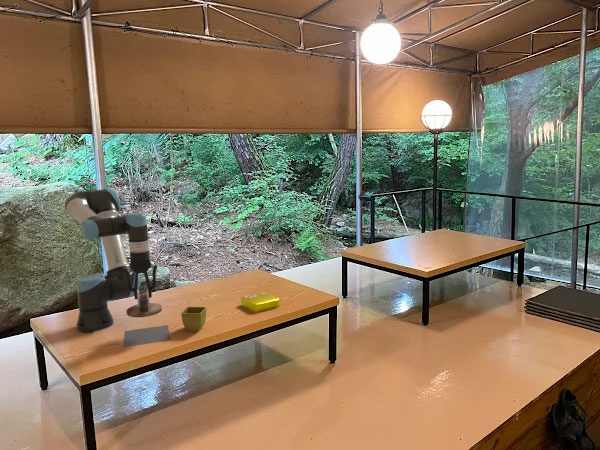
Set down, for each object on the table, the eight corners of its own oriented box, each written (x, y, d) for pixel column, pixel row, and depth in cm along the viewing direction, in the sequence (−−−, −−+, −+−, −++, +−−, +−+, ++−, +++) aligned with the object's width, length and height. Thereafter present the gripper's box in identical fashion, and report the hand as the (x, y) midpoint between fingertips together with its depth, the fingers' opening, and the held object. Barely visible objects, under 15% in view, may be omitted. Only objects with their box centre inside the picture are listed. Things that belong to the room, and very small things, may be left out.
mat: (123, 348, 188) (123, 347, 188) (125, 332, 205) (125, 331, 205) (170, 341, 194) (170, 340, 194) (168, 326, 211) (168, 325, 211)
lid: (126, 319, 189) (124, 304, 188) (127, 308, 203) (125, 294, 202) (162, 314, 194) (161, 300, 193) (161, 303, 207) (160, 290, 206)
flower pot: (208, 326, 210) (206, 306, 208) (202, 333, 201) (200, 313, 199) (188, 326, 210) (187, 306, 209) (182, 333, 202) (180, 313, 200)
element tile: (254, 313, 224) (253, 304, 223) (239, 305, 237) (239, 296, 236) (281, 307, 233) (280, 297, 232) (265, 299, 245) (265, 290, 244)
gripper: (117, 254, 188) (123, 311, 192) (160, 250, 193) (164, 306, 197) (118, 250, 195) (123, 305, 199) (159, 247, 200) (163, 300, 204)
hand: (143, 305), depth 198 cm, fingers closed on lid, 3 cm apart
